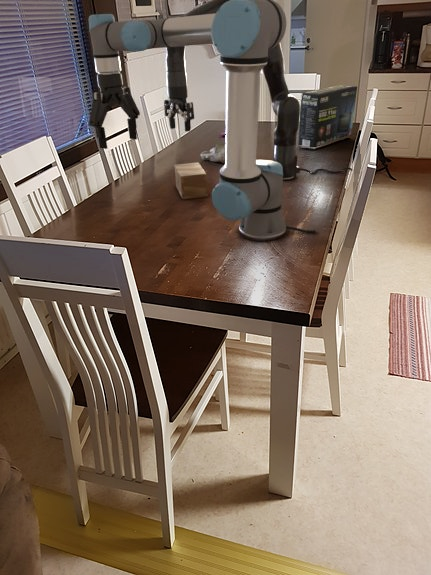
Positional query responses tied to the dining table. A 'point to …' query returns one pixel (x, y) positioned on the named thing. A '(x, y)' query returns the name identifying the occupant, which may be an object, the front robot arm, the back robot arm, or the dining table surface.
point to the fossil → (215, 154)
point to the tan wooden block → (191, 180)
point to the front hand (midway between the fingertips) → (119, 143)
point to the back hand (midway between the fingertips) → (180, 129)
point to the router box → (326, 115)
